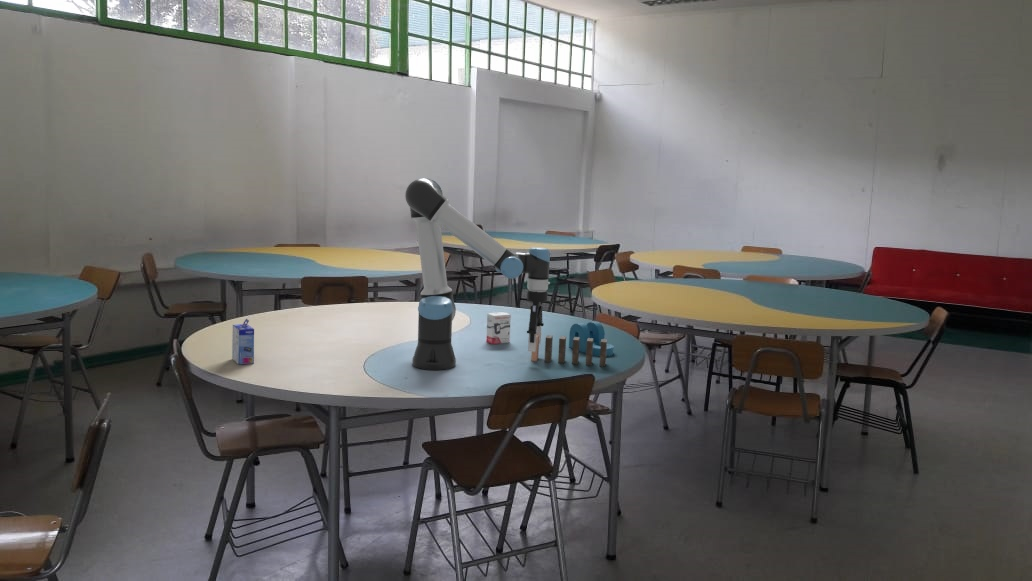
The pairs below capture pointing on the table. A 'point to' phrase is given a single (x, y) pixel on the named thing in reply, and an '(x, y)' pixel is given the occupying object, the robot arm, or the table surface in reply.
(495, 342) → the ink box
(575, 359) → the tile
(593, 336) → the camera mount
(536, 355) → the tile
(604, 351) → the tile
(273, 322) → the table surface
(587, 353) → the tile
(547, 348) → the tile
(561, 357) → the tile
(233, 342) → the ink cartridge box
